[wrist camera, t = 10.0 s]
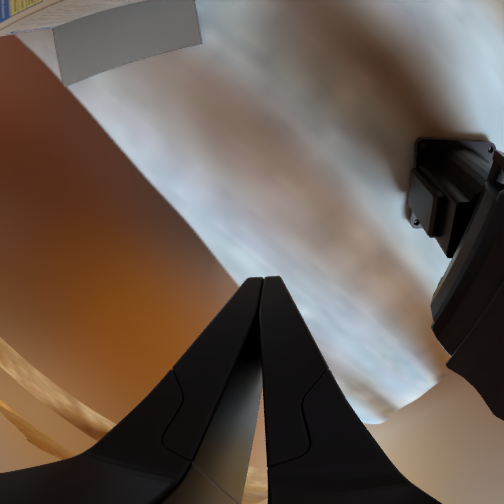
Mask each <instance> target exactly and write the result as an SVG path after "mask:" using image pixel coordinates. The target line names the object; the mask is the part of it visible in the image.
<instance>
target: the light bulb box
mask: <svg viewBox="0 0 504 504" xmlns="http://www.w3.org/2000/svg"><path fill="white" fill-rule="evenodd" d="M141 1H145V0H0V37H1V36H6V35H12V34H18V33H24V32H31V31H39V30H47V29H52V28H54V27H57V26H59V25H62V24H65V23H67V22H70V21H73V20H76V19H79V18H82V17H85V16H88V15H91V14H94V13H98V12H101V11H104V10H108V9H112V8H115V7H119V6H124V5H128V4H132V3H136V2H141Z"/></svg>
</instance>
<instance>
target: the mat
mask: <svg viewBox="0 0 504 504" xmlns="http://www.w3.org/2000/svg"><path fill="white" fill-rule="evenodd" d="M53 33H54V39H55V45H56V51H57V56H58V61H59V66H60V71H61V75H62V80H63V84H64V87H66V86H68V85H71V84H73V83H75V82H78V81H80V80H83V79H85V78H88V77H90V76H93V75H95V74H98V73H101V72H103V71H106V70H109V69H112V68H115V67H117V66H120V65H123V64H126V63H130V62H133V61H136V60H139V59H142V58H146V57H149V56H153V55H156V54H160V53H164V52H168V51H171V50H175V49H180V48H184V47H188V46H193V45H197V44H202V40H201V34H200V29H199V23H198V17H197V11H196V6H195V0H145V1H141V2H136V3H132V4H128V5H124V6H119V7H115V8H112V9H108V10H104V11H101V12H98V13H94V14H91V15H88V16H85V17H82V18H79V19H76V20H73V21H70V22H67V23H65V24H62V25H59V26H57V27H54V28H53Z"/></svg>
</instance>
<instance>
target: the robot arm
mask: <svg viewBox="0 0 504 504" xmlns="http://www.w3.org/2000/svg"><path fill="white" fill-rule="evenodd" d="M422 143H425V147H424V148H421V147H420V146H421V144H422ZM489 147H491V148H490V150H489V151H488V148H489ZM408 205H409V207H410V215H409V223H410V224H411V226H412V227H413V228H416V229H417V228H423V229H424V230H425V232H426V233H427V235H428V236H429V237H430V238H435V239H436V240H437V242H438V243H439V245H440V247H441V248H442V250H443V252H444V253H445V255H446V256H447V258H452V260H451V262H450V264H449V266H448V268H447V270H446V272H445V274H444V276H443V277H442V278H441V280H440V282H439V283H438V287H437V289H436V291H435V292H434V294H433V298H432V302H431V311H432V317H433V323H432V325H431V328H432V330H433V332H434V334H435V336H436V338H437V340H438V342H439V343H440V345H441V346H442V347H443V349H444V350H445V351H446V353H447V354H449V355H450V356H451V357H450V359H449V360H448V361H447V362H446V366H447V368H449V369H450V370H452V371H454V372H455V373H457V374H459V375H460V376H462V377H464V378H465V379H466V380H467V381H468V382H469V383H470V384H471V385H472V386H474V387H475V389H476V390H477V391H478V392H479V394H480V395H481V396H482V398H483V399H484V401H485V402H486V404H487V405H488V407H489V408H490V410H491V411H492V413H493V414H494V415H495V416H496V417H498V418H500V419H502V420H503V421H504V153H503V152H501V151H498V150H496V147H495V145H494V144H493V143H491V142H489V141H481V140H468V139H452V138H430V137H421V138H418V139H417V140H416V142H415V153H414V168H413V169H412V170H411V171H410V183H409V195H408ZM416 219H418V221H417V222H415V223H414V221H415V220H416ZM262 387H263V400H264V418H265V436H266V453H267V454H266V455H267V467H268V470H267V473H268V504H442V503H440V502H439V501H437V500H436V499H434V498H433V497H431V496H430V495H428V494H427V493H425V492H424V491H422V490H421V489H419V488H418V487H417V486H415V485H414V484H412V483H411V482H410V481H409V480H408V479H406V478H405V477H404V476H403V475H402V474H401V473H400V472H399V470H398V469H397V468H396V467H395V466H394V465H393V463H392V462H391V461H390V460H389V458H388V457H387V456H386V454H385V453H384V451H383V450H382V449H381V448H380V446H379V445H378V443H377V442H376V441H375V439H374V438H373V437H372V435H371V434H370V432H369V431H368V430H367V428H366V427H365V426H364V424H363V423H362V422H361V420H360V419H359V417H358V416H357V414H356V413H355V412H354V410H353V409H352V407H351V406H350V404H349V403H348V401H347V400H346V398H345V396H344V394H343V393H342V391H341V389H340V387H339V386H338V384H337V382H336V380H335V378H334V376H333V374H332V372H331V371H330V370H329V367H328V365H327V363H326V361H325V359H324V358H323V356H322V354H321V352H320V350H319V348H318V346H317V344H316V342H315V340H314V338H313V337H312V335H311V333H310V331H309V329H308V327H307V325H306V323H305V321H304V319H303V318H302V316H301V314H300V312H299V310H298V308H297V306H296V304H295V303H294V301H293V299H292V297H291V295H290V293H289V291H288V289H287V287H286V286H285V284H284V282H283V280H282V278H281V277H280V276H269V277H265V278H263V277H250V278H247V279H246V280H245V281H244V283H243V284H242V285H241V286H240V287H239V289H238V290H237V291H236V292H235V293H234V295H233V296H232V297H231V298H230V300H229V301H228V302H227V303H226V304H225V305H224V307H223V308H222V309H221V310H220V312H219V313H218V314H217V315H216V316H215V317H214V319H213V320H212V321H211V322H210V323H209V325H208V326H207V327H206V328H205V329H204V331H203V332H202V333H201V334H200V335H199V336H198V338H197V339H196V340H195V341H194V342H193V344H192V345H191V346H190V347H189V348H188V350H187V351H186V352H185V353H184V354H183V355H182V357H181V358H180V359H179V360H178V361H177V363H176V364H175V365H174V366H173V370H170V371H169V372H168V373H167V374H166V375H165V377H164V378H163V379H162V380H161V381H160V382H159V383H158V384H157V386H156V387H155V388H154V389H153V390H152V391H151V392H150V393H149V394H148V396H146V398H144V399H143V400H142V401H141V402H140V403H139V404H138V405H137V406H136V407H135V408H134V409H133V410H132V411H131V412H130V413H129V414H128V415H127V416H126V417H125V418H123V419H122V420H121V421H120V422H119V423H118V424H117V425H116V426H115V427H114V428H113V429H111V430H110V431H109V432H108V433H107V434H106V435H105V436H104V437H103V438H101V439H100V440H99V441H98V442H97V443H96V444H95V445H93V446H92V447H91V448H89V449H88V450H86V451H85V452H83V453H81V454H79V455H77V456H74V457H72V458H68V459H64V460H61V461H57V462H53V463H49V464H44V465H40V466H35V467H31V468H26V469H21V470H16V471H11V472H5V473H0V504H241V502H242V497H243V492H244V487H245V482H246V476H247V471H248V466H249V461H250V455H251V450H252V444H253V439H254V433H255V427H256V422H257V416H258V410H259V405H260V399H261V393H262Z"/></svg>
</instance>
